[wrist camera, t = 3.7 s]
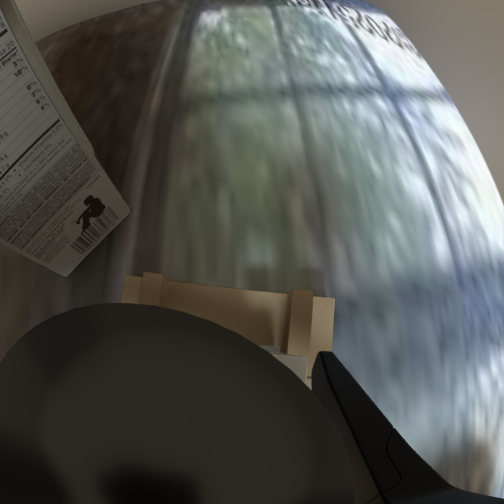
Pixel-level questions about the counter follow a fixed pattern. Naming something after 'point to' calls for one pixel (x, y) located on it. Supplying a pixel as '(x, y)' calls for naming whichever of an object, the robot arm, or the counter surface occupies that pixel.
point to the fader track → (246, 312)
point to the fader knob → (161, 415)
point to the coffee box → (47, 162)
